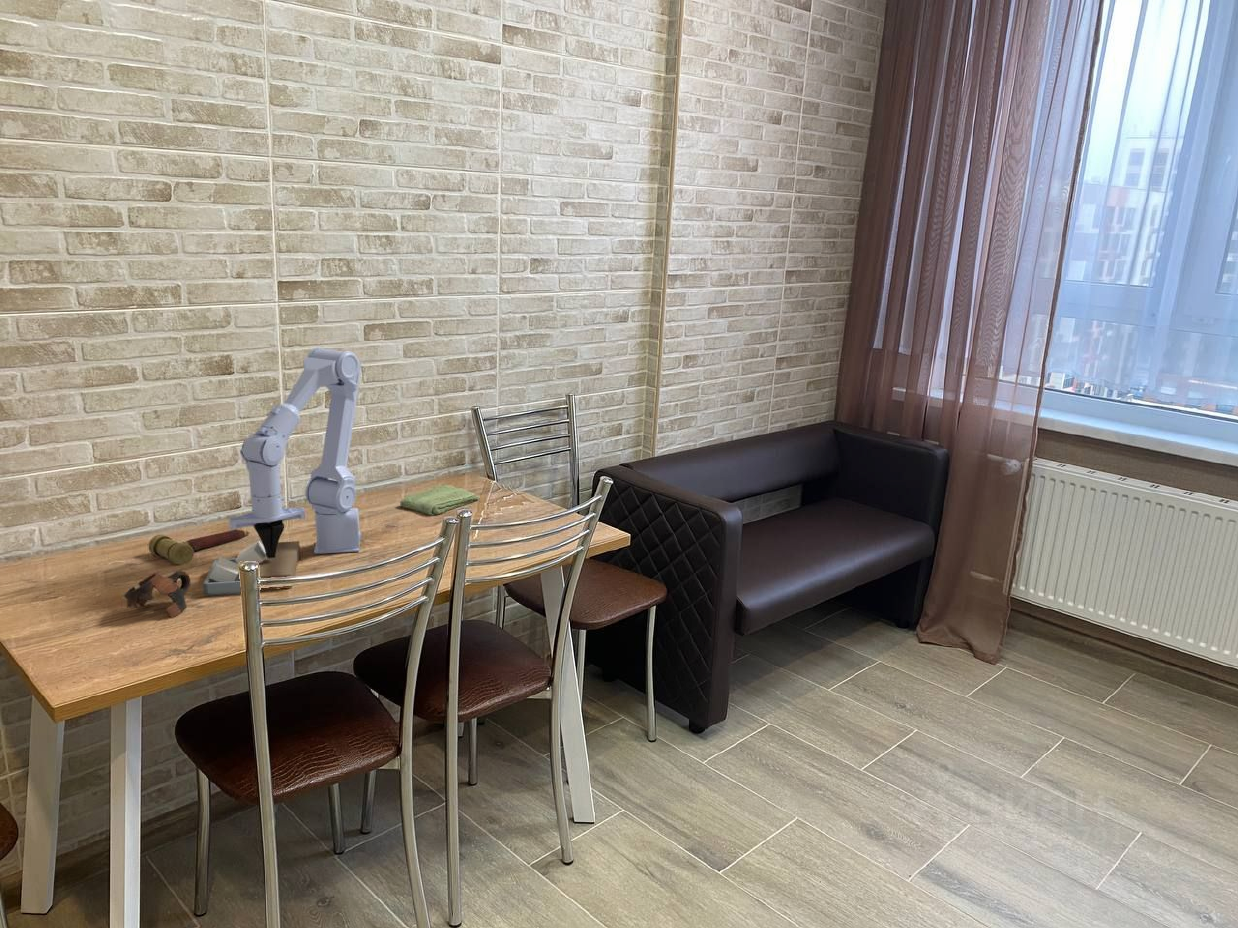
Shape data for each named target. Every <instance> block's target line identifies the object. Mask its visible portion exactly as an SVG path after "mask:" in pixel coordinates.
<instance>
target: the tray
mask: <svg viewBox="0 0 1238 928" xmlns="http://www.w3.org/2000/svg"><path fill="white" fill-rule="evenodd" d="M226 559H227V560H229V561H232V562H234V563H237V562H236V561H235V560H236V559H237V557H234V558H233V557H232V558H231V557H230V558H226ZM218 560H219V558H216V559H214V561H213V562H212V565H211V567H210V569H209V572H208V574H207V576H206V579H205V580H204V582H203V591H204V593H203V595H204V597H210V596H227V595H240V594H241V587H240V579H239V573H238V575H237V577H236V579H235V581H229V582H218V581H215V580H213V579H210V578H209V577H210V575H211V573H212V571H213V569H214V567H215V565H216V563H217V562H218ZM237 564H238V563H237Z"/></svg>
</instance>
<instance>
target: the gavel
mask: <svg viewBox="0 0 1238 928" xmlns="http://www.w3.org/2000/svg"><path fill="white" fill-rule="evenodd" d="M250 532H251V531H250V530H245V529H235V530H231V529H230V530H229V531H223V532H219V533H215V534H214V533H213V534H209V535H205V536H201V537H200V536H199V537H195V538H191V539H189V540H186V541H182V542H179V541H176V540H173V538H171V537H170V536H168V535H165V534H162V533H161V534H156V535H154V536H153V537H152V538H151V539H150V540H149V543H148V550H149V552H150V553H151V554H152V555H154V556H156V557H163V558H165V559H167V560H169V561H170V562H171V563H173V564H175V565H177V566H181V565H184V564H188V563H191V562H192V560H193V559H194V557H195V556H194V555H195V551H198V550H202V549H206V548H213V547H215V546H220V545H223V544H228V543H232V542H236V541H240V540H241V539H243V538H245V537H247V536H248V535H250Z"/></svg>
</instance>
